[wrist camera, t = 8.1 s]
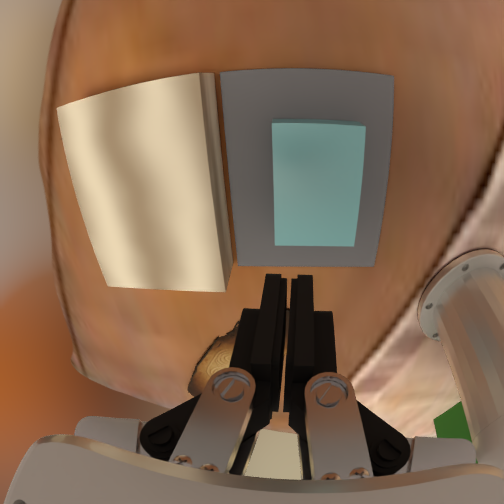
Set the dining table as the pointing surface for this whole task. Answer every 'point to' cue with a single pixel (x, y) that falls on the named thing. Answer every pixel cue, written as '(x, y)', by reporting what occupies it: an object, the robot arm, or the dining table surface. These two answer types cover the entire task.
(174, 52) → the dining table surface
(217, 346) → the parchment
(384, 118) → the mat
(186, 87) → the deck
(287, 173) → the tile
